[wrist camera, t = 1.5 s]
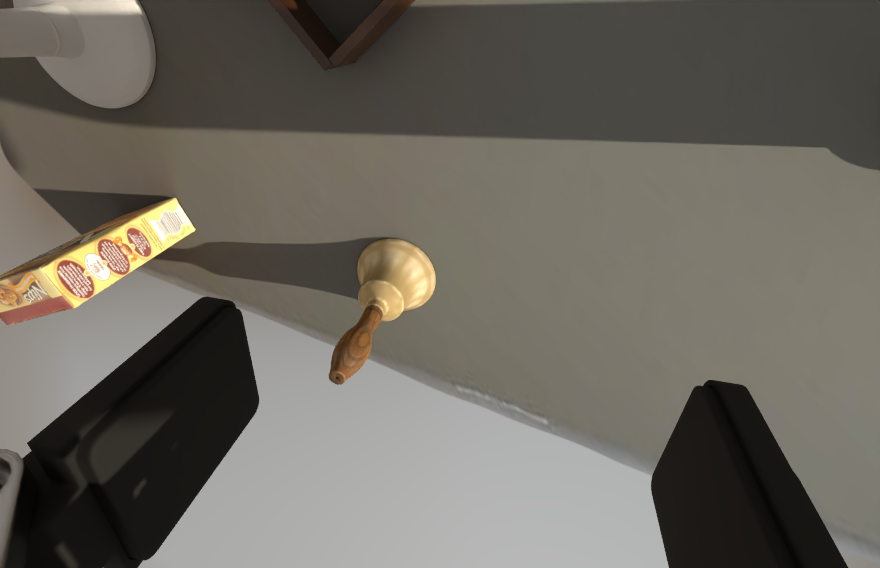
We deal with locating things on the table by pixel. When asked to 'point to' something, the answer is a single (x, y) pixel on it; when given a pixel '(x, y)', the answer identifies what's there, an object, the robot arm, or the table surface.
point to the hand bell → (382, 298)
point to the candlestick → (85, 46)
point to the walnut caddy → (322, 42)
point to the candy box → (90, 262)
